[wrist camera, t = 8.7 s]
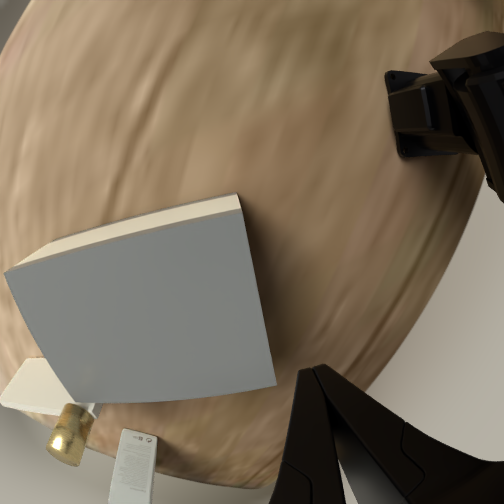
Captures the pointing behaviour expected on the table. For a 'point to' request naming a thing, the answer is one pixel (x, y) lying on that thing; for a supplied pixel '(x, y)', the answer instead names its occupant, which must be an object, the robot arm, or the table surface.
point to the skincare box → (134, 469)
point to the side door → (52, 408)
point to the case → (149, 306)
